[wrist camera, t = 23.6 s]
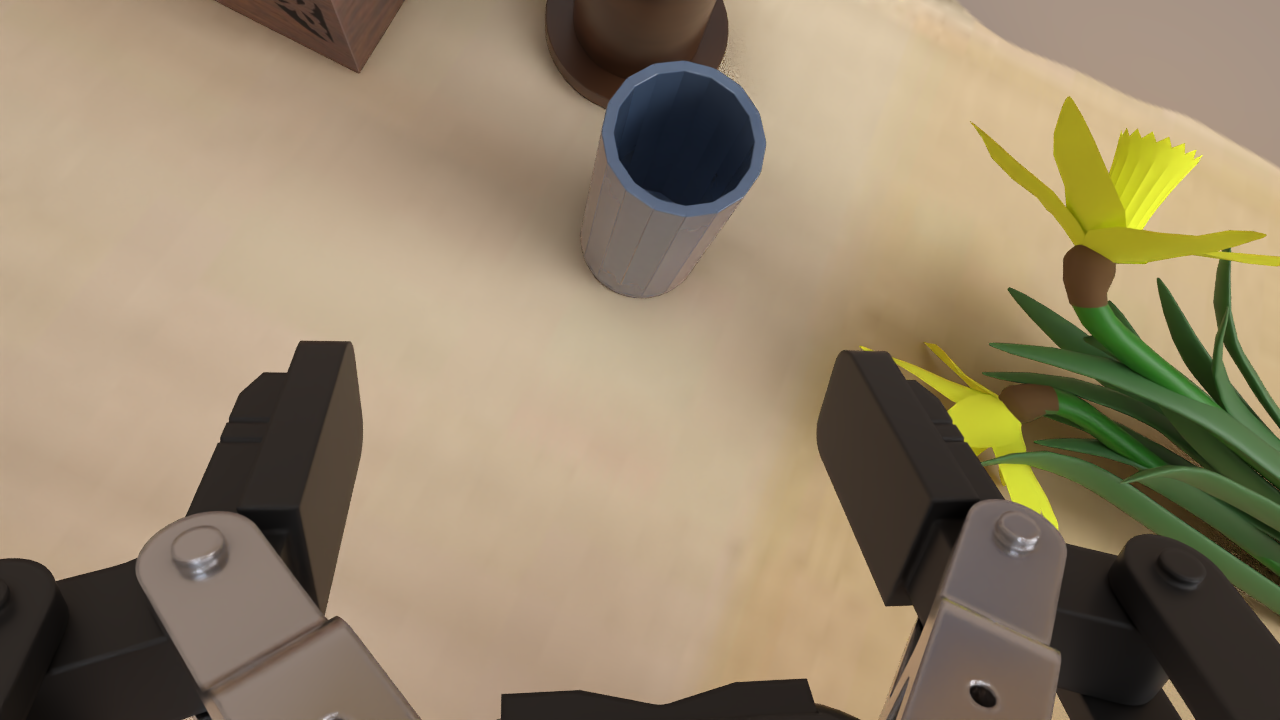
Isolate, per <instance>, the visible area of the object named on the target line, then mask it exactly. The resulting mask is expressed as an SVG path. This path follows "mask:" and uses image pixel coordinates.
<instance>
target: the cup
mask: <svg viewBox="0 0 1280 720" xmlns="http://www.w3.org/2000/svg"><path fill="white" fill-rule="evenodd" d="M765 148H766V139H765V135H764V130H763V126H762V121H761V117H760V114H759V111H758V110H757V108H756V107H755V105H754V104H753V102H752V101H751V100H750V98H749V97H748V95H747V94H746V92H745V91H744V89H743V88H742V87H741V86H740V85H739V84H737V83H736V82H734V81H733V80H731V79H730V78H729V77H727V76H726V75H724V74H723V73H721V72H720V71H719V70H717V69H715V68H712V67H709V66H705V65H701V64H697V63H693V62H690V61H684V60H682V61H672V62H663V63H655V64H652V65H650V66H648V67H646V68H644V69H643V70H641V71H639V72H637V73H635V74H633V75H632V76H630V77H628V78H627V79H625V81H624V82H623V83H622V85H621V86H620V87H619V89H618V90H617V91H616V92H615V94H614V95H613V96H612V98H611V99H610V100H609V102H608V104H607V109H606V113H605V117H604V122H603V126H602V130H601V135H600V140H599V145H598V150H597V155H596V160H595V164H594V169H593V174H592V179H591V184H590V189H589V194H588V198H587V203H586V208H585V213H584V218H583V223H582V228H581V233H580V237H581V248H582V252H583V256H584V259H585V261H586V264H587V265H588V267H589V269H590V271H591V272H592V273H593V275H594V276H595V277H596V278H597V279H598V280H599V281H600V282H601V283H602V284H604V285H605V286H606V287H608V288H609V289H611V290H612V291H614V292H617V293H619V294H621V295H625V296H628V297H634V298H650V297H655V296H659V295H662V294H665V293H667V292H669V291H671V290H673V289H674V288H675V287H677V286H678V285H679V284H680V283H682V282H683V281H684V280H685V279H686V277H687V276H688V275H689V273H690V272H691V271H692V269H693V268H694V266H695V265H696V264H697V262H698V261H699V259H700V258H701V257H702V255H703V254H704V252H705V251H706V250H707V248H708V247H709V245H710V244H711V243H712V241H713V240H714V238H715V237H716V236H717V234H718V233H719V231H720V230H721V229H722V227H723V226H724V225H725V223H726V222H727V220H728V219H729V218H730V216H731V215H732V213H733V212H734V211H735V209H736V208H737V206H738V205H739V204H740V202H741V201H742V199H743V198H744V197H745V195H746V194H747V192H748V191H749V189H750V188H751V187H752V185H753V184H754V182H755V181H756V179H757V178H758V176H759V175H760V172H761V170H762V165H763V159H764V154H765Z"/></svg>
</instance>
